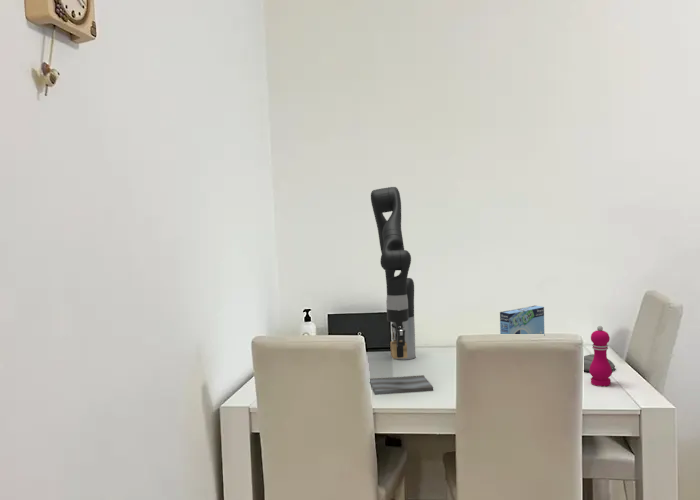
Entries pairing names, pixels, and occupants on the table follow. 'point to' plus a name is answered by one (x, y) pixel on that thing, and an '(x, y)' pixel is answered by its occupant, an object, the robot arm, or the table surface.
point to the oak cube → (394, 350)
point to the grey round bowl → (588, 361)
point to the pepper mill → (600, 358)
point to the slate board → (400, 384)
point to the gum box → (522, 321)
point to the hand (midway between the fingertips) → (398, 355)
